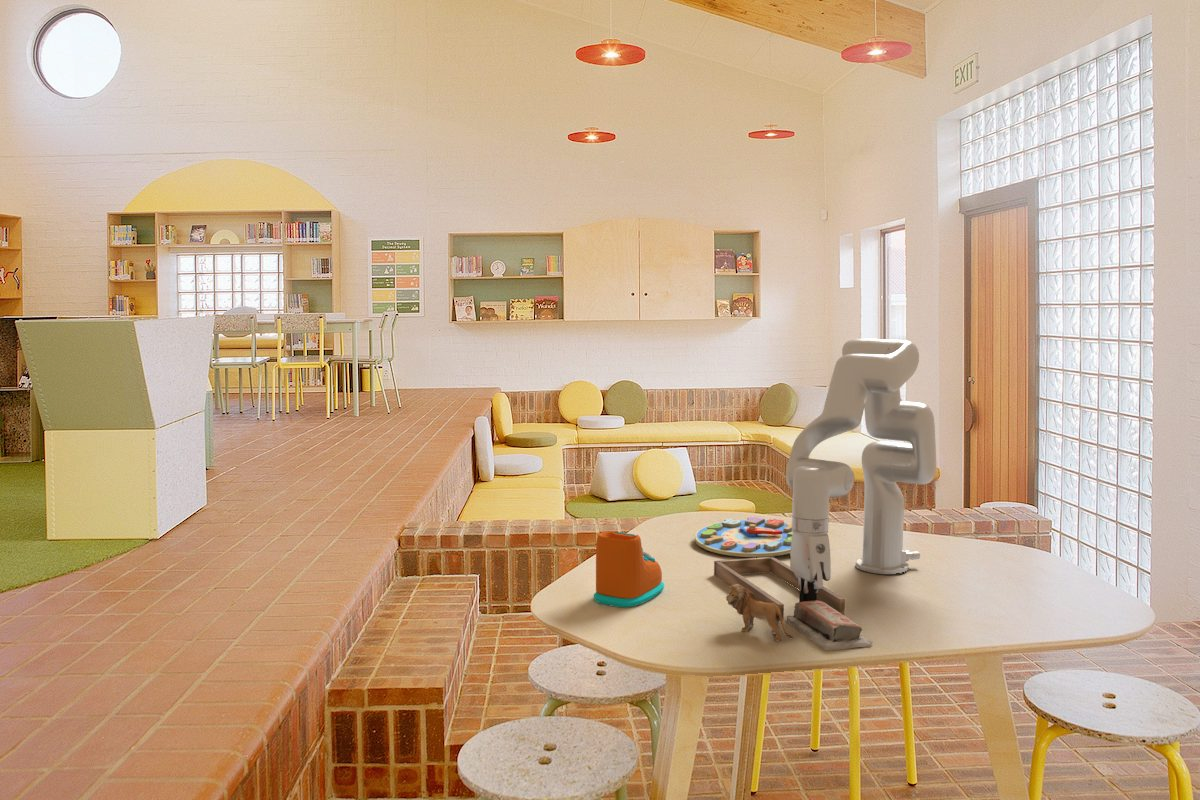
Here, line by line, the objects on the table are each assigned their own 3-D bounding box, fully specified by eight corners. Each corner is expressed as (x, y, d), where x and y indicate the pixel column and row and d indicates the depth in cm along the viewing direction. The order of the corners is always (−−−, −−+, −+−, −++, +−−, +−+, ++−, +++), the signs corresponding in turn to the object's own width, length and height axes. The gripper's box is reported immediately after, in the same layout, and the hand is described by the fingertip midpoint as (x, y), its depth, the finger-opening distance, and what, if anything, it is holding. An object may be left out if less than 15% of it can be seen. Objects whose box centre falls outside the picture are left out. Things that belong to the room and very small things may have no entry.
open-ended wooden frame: (772, 570, 244) (772, 556, 243) (844, 615, 210) (845, 598, 210) (714, 575, 239) (714, 560, 239) (778, 621, 206) (778, 604, 206)
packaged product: (785, 600, 206) (828, 596, 208) (784, 623, 206) (827, 619, 209) (826, 628, 188) (873, 624, 191) (826, 653, 189) (872, 648, 192)
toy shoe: (673, 588, 229) (674, 524, 227) (633, 611, 212) (633, 543, 210) (627, 580, 235) (627, 518, 233) (584, 602, 218) (584, 536, 216)
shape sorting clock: (672, 547, 266) (672, 525, 266) (734, 527, 289) (734, 507, 289) (771, 568, 247) (771, 544, 246) (829, 545, 270) (830, 523, 269)
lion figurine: (721, 628, 201) (722, 585, 200) (734, 622, 206) (735, 579, 205) (787, 644, 192) (788, 599, 191) (799, 637, 197) (800, 592, 196)
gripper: (844, 532, 201) (841, 619, 203) (809, 516, 216) (807, 598, 218) (810, 534, 199) (807, 622, 201) (777, 518, 214) (775, 600, 216)
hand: (807, 609), depth 209 cm, fingers closed
